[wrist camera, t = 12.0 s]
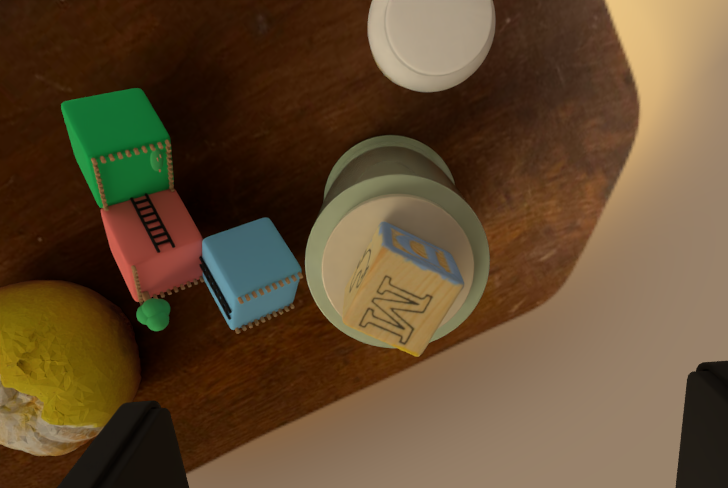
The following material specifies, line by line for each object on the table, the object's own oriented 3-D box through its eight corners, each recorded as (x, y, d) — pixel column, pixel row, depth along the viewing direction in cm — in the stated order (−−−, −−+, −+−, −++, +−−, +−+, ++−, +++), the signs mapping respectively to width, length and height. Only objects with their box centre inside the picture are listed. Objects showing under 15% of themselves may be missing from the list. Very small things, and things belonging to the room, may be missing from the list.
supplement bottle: (462, -27, 28) (505, -80, 18) (474, 78, 29) (520, 79, 20) (360, -6, 28) (353, -47, 19) (378, 97, 30) (380, 106, 20)
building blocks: (210, 167, 36) (296, 308, 31) (82, 203, 32) (159, 370, 27) (211, 71, 29) (319, 230, 25) (51, 101, 25) (145, 296, 21)
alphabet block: (454, 254, 20) (468, 284, 17) (414, 321, 20) (420, 362, 18) (381, 217, 19) (382, 243, 16) (343, 288, 20) (338, 323, 17)
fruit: (-56, 295, 33) (-137, 342, 26) (113, 246, 35) (84, 277, 28) (17, 441, 36) (-36, 523, 29) (170, 389, 38) (157, 452, 31)
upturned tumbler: (452, 128, 30) (499, 159, 18) (458, 256, 32) (503, 355, 21) (316, 141, 30) (280, 179, 19) (332, 267, 33) (308, 369, 21)
